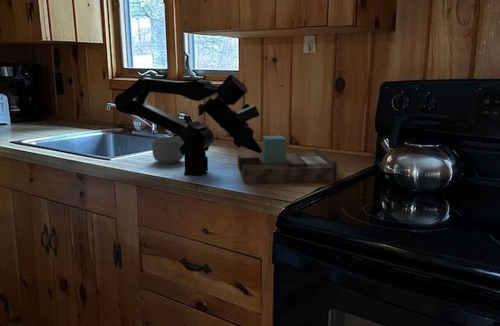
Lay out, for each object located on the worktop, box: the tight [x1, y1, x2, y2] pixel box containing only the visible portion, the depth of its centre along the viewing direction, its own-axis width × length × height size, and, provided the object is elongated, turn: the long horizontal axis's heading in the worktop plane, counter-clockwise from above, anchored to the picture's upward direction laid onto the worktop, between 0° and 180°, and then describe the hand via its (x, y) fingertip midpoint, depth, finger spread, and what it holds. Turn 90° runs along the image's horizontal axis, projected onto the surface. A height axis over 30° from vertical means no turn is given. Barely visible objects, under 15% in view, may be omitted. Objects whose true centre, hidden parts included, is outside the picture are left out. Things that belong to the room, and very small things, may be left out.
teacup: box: [150, 136, 184, 165], centre depth 156 cm, size 14×11×8 cm
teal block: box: [262, 135, 287, 163], centre depth 138 cm, size 6×6×7 cm
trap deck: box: [237, 147, 338, 185], centre depth 140 cm, size 26×22×6 cm
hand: (261, 152), depth 138 cm, fingers closed
